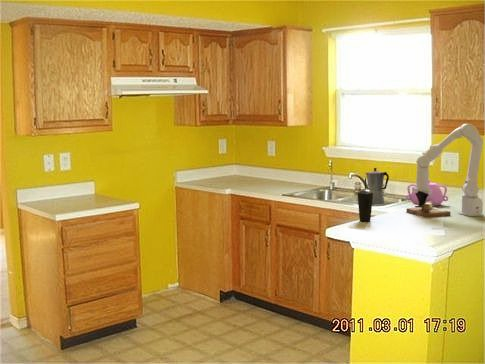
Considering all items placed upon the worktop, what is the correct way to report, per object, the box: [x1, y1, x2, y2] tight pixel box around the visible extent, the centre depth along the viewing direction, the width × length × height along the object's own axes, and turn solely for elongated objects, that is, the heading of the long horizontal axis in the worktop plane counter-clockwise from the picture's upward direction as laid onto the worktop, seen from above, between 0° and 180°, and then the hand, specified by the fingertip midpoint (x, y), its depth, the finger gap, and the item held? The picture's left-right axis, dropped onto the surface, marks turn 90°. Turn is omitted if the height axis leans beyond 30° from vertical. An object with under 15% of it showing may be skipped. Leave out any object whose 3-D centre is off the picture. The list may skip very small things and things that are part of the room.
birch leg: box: [422, 201, 434, 211], centre depth 294 cm, size 15×3×3 cm, turn 152°
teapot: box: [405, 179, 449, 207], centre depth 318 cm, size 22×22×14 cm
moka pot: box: [365, 167, 390, 206], centre depth 324 cm, size 10×15×20 cm, turn 45°
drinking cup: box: [356, 177, 374, 223], centre depth 274 cm, size 8×8×20 cm
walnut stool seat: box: [406, 204, 451, 218], centre depth 292 cm, size 16×14×6 cm
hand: (421, 206), depth 295 cm, fingers closed
